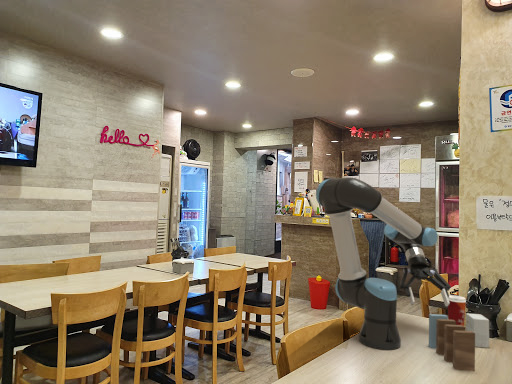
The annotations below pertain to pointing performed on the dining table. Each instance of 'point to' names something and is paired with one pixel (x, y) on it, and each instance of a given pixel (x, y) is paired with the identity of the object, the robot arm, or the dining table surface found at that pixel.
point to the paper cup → (456, 309)
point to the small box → (478, 329)
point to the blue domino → (434, 328)
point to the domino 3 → (464, 350)
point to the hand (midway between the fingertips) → (430, 304)
